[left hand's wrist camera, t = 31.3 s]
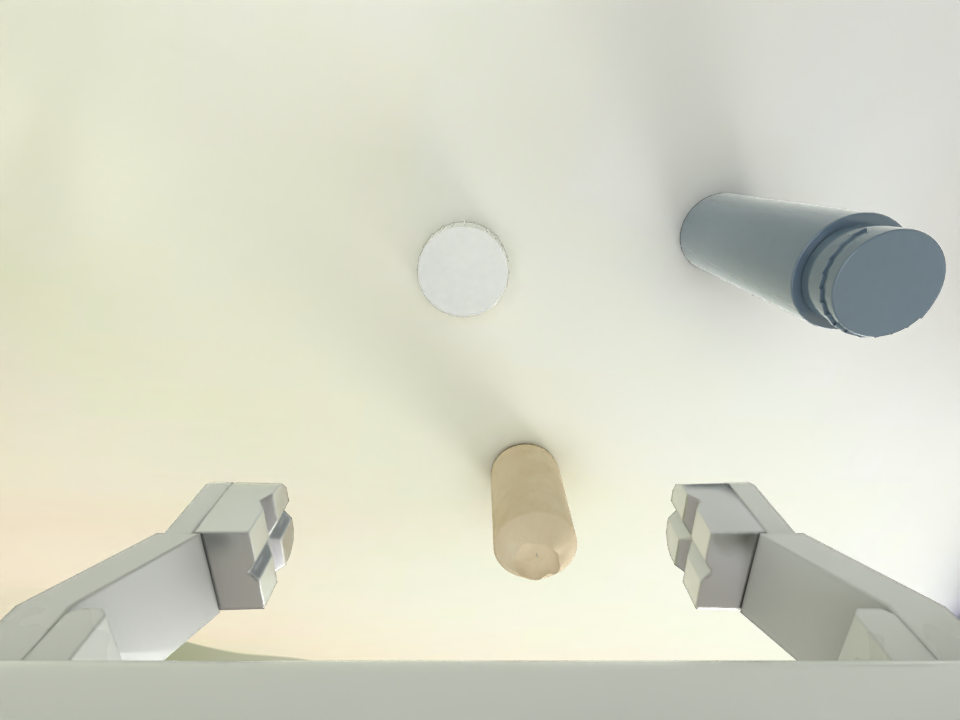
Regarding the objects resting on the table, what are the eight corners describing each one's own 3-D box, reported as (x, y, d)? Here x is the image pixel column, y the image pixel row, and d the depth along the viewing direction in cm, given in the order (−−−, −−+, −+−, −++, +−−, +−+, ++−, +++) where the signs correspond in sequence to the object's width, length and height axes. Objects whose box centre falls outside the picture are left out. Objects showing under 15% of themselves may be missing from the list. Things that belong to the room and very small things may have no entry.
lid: (525, 259, 35) (528, 266, 33) (470, 324, 37) (469, 335, 35) (457, 201, 34) (455, 204, 32) (403, 271, 36) (397, 279, 33)
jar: (664, 246, 35) (794, 308, 21) (712, 177, 33) (891, 191, 19) (722, 283, 36) (886, 367, 22) (772, 218, 34) (986, 261, 20)
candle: (513, 431, 40) (524, 514, 31) (571, 462, 41) (598, 550, 32) (478, 482, 42) (478, 574, 33) (534, 510, 43) (550, 607, 34)
